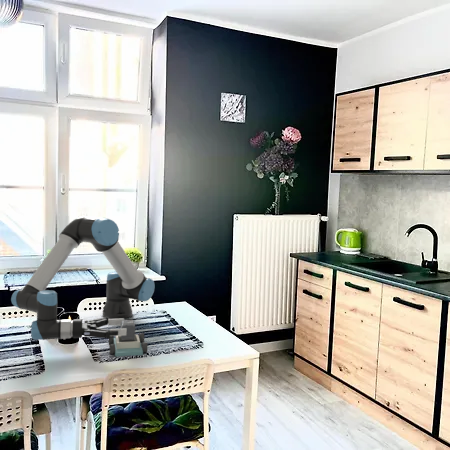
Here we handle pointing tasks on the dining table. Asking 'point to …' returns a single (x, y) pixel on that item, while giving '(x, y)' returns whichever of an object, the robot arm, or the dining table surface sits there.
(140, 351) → the chassis
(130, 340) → the grey upright block
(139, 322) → the dining table surface
